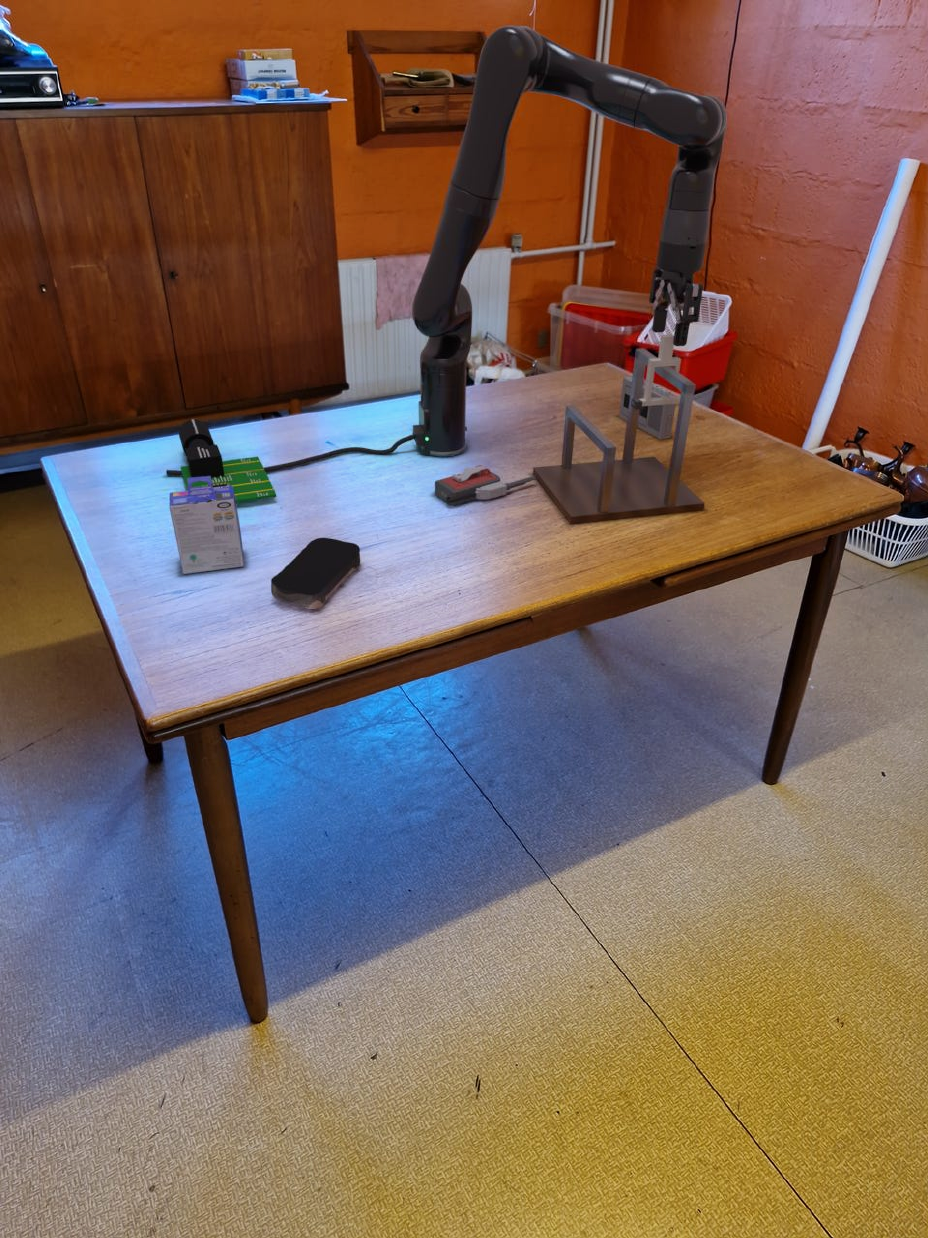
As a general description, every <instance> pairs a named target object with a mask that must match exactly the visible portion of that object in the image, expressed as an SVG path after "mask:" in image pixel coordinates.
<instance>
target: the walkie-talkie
mask: <svg viewBox="0 0 928 1238" xmlns="http://www.w3.org/2000/svg"><path fill="white" fill-rule="evenodd" d="M533 481H537V479H536V477H535V476H534V475H532V476H529V477H525V478H521V479H519V480H515V481H513V482H509V483H508V482H507V483H503V482H502V481H501V477H500V476H499V475H497V474H496V473H494V472H492V471H491V470H490V469H489V468H488V467H486V466H484V465H483V464H479V465H476V466H472V467H469V468H465V469H464V470H463V472H461V473H458V474H456V473H455V474H454V473H453V474H452V475H451V476H448V477H445V478H441V479H437V480H435V481H434V495H435V496H436V497H438V498H440V499H441V500H442V501H444V502H446V504H449V505H452V506H457V505H461V504H464V503H467V502H470V501H473V500H492V499H494V498H497V497H501V496H505V495H507V493H508V492H507V491H510V490H511V489H514V488H518V487H520V486H524V485H526V483H529V482H533Z"/></svg>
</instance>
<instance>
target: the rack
mask: <svg viewBox="0 0 928 1238" xmlns="http://www.w3.org/2000/svg"><path fill="white" fill-rule="evenodd" d="M634 355H635V356H634V364H633V370H632V371H633V372H632V376H633V378H632V386H631V394H630V402H629V410H628V418H627V421H626V427H625V434H624V443H623V451H622V458H621V459H616V453H617V446H616V445H615V444H614V443H613V442H612V441H611V440H610V439H609V438H608V437H607V436H606V435H605V434H604V433H603V432H602V431H601V430H600V429H599V428H598V427H597V426H596V425H595V424H594V423H593V422H592V421H591V420H590V419H588V417H587V416H586V415H585V414H583V412H582V411H580V409H579V408H577V406H576V405H575V404H570V405H569V404H568V405H565V415H564V426H563V437H562V438H563V439H562V450H561V462H560V463H561V464H557V465H546V466H544V465H543V466H535V467H532V476H535V477H536V481H537V482H538V483H539V484H540V486H541V487H542V489H543V490H544V491H545V492H546V494H547V495H548V496H549V498H550V499H551V501H552V502H553V503H554V504H555V506H556V507H557V508H558V510H559V511H560V513H561V514H562V515H563V516H564V517H565V520H567V522H568V523H569V524H570V525H574V524H584V523H585V524H586V523H595V522H605V521H614V520H615V521H616V520H621V519H622V520H623V519H631V518H633V519H634V518H642V517H651V516H652V517H653V516H662V515H670V514H671V515H672V514H680V513H689V512H690V513H691V512H700V511H704V510H705V505H706V503H705V501H703V500H702V499H701V498H700V497H699V496H698V495H697V494H695V492H693V490H691V488H689V487H688V486H687V485H686V483H684V482H683V481H681V474H682V468H683V462H684V457H685V450H686V445H687V437H688V434H689V433H688V432H689V426H690V420H691V414H692V409H693V404H694V403H693V402H694V397H695V390H696V384H695V382H692V380H690V379H689V378H687V377H686V376H684V375H683V374H681V373H680V372H679V373H678V372H677V371H675V370H674V369H672V366H667V367H655V371H654V373H656V374H657V375H658V376H660V377H661V378H663V379H664V380H665V381H667V382H668V383H669V384H670V385H672V386H673V387H675V388H676V389H678V391H680V396H681V397H680V403H679V404H678V410H677V417H676V423H675V429H674V436H673V442H672V448H671V454H670V460H669V466H668V467H666V466H665V465H664V463H662V462H661V461H660V460H659V459H658V458H657V457H656V456H647V457H646V456H645V457H634V455H635V454H634V452H635V445H636V440H637V433H638V431H637V430H638V427H637V424H638V417H639V409H638V410H635V409H634V408H633V407H632V406H631V403H632V399H634V398H638V399H641V394H642V387H643V379H645V378H644V377H645V370H646V367H648V361H649V359H652V358H658V357H657V356H655V355H654V354H653V353H651V352H650V351H648V350H647V349H645V348H636V349H635V354H634ZM576 426H577V427H578V428H579V429H580V431H581V432H583V434H584V435H586V437H587V438H589V440H590V441H591V442H592V443H593V444H594V445H595V446H596V447H597V448H598V449H599V450H600V451H601V452H602V453H603V454H602V455H603V456H602V461H600V460H599V461H592V462H591V461H590V462H580V463H573V453H574V443H575V433H576V431H575V430H576Z"/></svg>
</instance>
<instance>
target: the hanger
mask: <svg viewBox="0 0 928 1238" xmlns="http://www.w3.org/2000/svg"><path fill="white" fill-rule="evenodd" d="M673 339H674V334H661V335H660V342H659V349H658V357H657V358H652V359H649V361H648V366H647V367H646V369H647V370H646V377H645V379H646V383H645V391H644V398H643V399H638V398H634V399H632V403H631V406H632V407H633V408H634V409H635V410H638V409H642V406H653V405H666V404H676V405H679V403H680V397H681V395H672V396H670V397H657V398H651V393H652V386H653V383H654V380H655V379H654V378H655V372H654V371H655V367H667V366H670V367H671V368H672V369H674V370H675V371H677V372H678V373H680V369H681V362H682V358H680V357H679V356H673V354H674V347H675V345H674V344H673Z"/></svg>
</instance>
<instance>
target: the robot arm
mask: <svg viewBox="0 0 928 1238" xmlns="http://www.w3.org/2000/svg"><path fill="white" fill-rule="evenodd" d="M529 92H530V93H538V94H546V95H552V96H557V97H561V98H563V99H567V100H569V101H572V102H575V103H577V104H578V105H581V106H583V107H584V108H586V109H588V110H589V111H592V113H593V112H594V113H595V114H597V115H598V116H601V117H603V118H605V119H608V120H611V121H612V122H616V123H618V124H622V125H624V126H628V127H629V128H633V129H636V130H640V131H644V132H647V133H650V134H653V135H654V136H657V137H658V138H661V139H663V140H664V141H667V142H669V143H672V144H674V145H676V146H678V150H677V156H676V162H675V165H674V168H673V169H672V171H671V174H670V175H669V180H668V187H667V194H666V201H665V208H664V213H663V217H662V221H661V226H660V227H661V228H660V235H659V241H658V250H657V257H656V267H654V269H653V272H652V277H651V285H650V290H649V297H648V302H649V304H652V309H653V310H654V311H653V313H654V314H653V319H652V327H651V331H652V332H653V333H656V334H657V333H664V332H665V331H666V325H667V320H668V312H669V311H668V309H669V307H670V305H671V310H672V311H673V312H674V313H675V319H676V320H675V321H676V323H675V326H674V334H673V336H674V339H673V344H674V347H685V346H686V345H687V344H688V337H689V332H690V331H689V330H690V325H691V324H693V323H698V322H699V321H700V311H701V305H702V299H703V298H702V297H703V296H702V295H703V289H704V285H703V284H702V283H694V274H696V272H699V271H700V272H701V270H702V269H703V267H704V266H703V265H704V259H705V253H706V247H707V241H708V235H709V228H710V212H711V207H712V206H711V205H712V199H713V193H714V185H715V175H716V170H717V166H718V163H719V159H720V156H721V152H722V149H723V145H724V140H725V135H726V129H727V124H728V123H727V122H728V116H727V115H728V114H727V109H726V105H725V104H724V103H723V101H722V100H721V99H720V98H718V97H717V96H715V95H712V94H701V95H700V94H697V93H693V92H689V91H685V90H682V89H679V88H675V87H672V86H669V85H668V84H667V83H666V82H664V81H662V80H660V79H658V78H655V77H652V76H649V75H646V74H644V73H640V72H636V71H634V70H630V69H627V68H624V67H620V66H616V65H613V64H609V63H606V62H603V61H599V60H595V59H592V58H589V57H586V56H584V55H581V54H579V53H576V52H574V51H572V50H569V49H568V48H566V47H563V46H562V45H560V44H558V43H557V42H555V41H553V40H551V39H550V38H548V37H546V36H544V35H542V34H541V33H540V32H538V31H536V30H534V29H533V28H532V27H529V26H526V25H504V26H501V27H499V28H495V30H494V31H493V32H491V33H490V35H489V36H488V37H487V39H486V40H485V42H484V44H483V46H482V49H481V51H480V55H479V60H478V64H477V70H476V74H475V81H474V88H473V92H472V97H471V103H470V108H469V114H468V118H467V121H466V124H465V125H466V126H465V129H464V131H463V135H462V138H461V142H460V144H459V148H458V153H457V155H456V160H455V163H454V166H453V169H452V173H451V175H450V179H449V183H448V186H447V190H446V193H445V197H444V202H443V207H442V211H441V214H440V218H439V221H438V225H437V229H436V232H435V236H434V239H433V244H432V247H431V252H430V255H429V258H428V261H427V263H426V266H425V268H424V272H423V274H422V276H421V278H420V281H419V284H418V287H417V289H416V292H415V294H414V297H413V301H412V306H411V307H412V308H411V314H412V319H413V323H414V325H415V328H416V329H417V330H418V331H419V333H421V334H422V335H423V336H425V337H428V340H427V342H426V344H425V346H424V348H423V349H422V350H421V352H420V356H419V370H420V371H419V372H420V373H419V374H420V375H419V376H420V377H419V378H420V400H419V401H418V403H417V404H418V405H417V406H418V424H413V425H412V434H410V435H407V436H405V437H403V438H400V439H399V440H397V441H395V443H394V444H393V445H392V446H391V447H389V448H386V449H373V448H369V447H362V446H351V447H350V446H349V447H343V448H338V449H335V450H332V451H331V450H330V451H328V452H325V453H321V454H316V455H314V456H313V455H312V456H309V457H305V458H302V459H298V460H295V461H294V460H293V461H290V462H285V463H280V464H274V465H271V466H263V468H264V470H265V472H266V473H270V472H276V471H280V470H286V469H289V468H294V467H298V466H301V465H302V466H303V465H305V464H309V463H313V462H317V461H320V460H324V459H328V458H331V457H335V456H337V455H342V454H348V453H364V454H370V455H378V456H385V455H389V454H392V453H394V452H395V451H396V450H397V449H398V447H400V446H401V445H403V444H405V443H408V442H410V441H414V443H415V444H416V446H417V447H420V450H421V452H422V453H423V455H424V456H434V457H452V456H453V457H454V456H457V455H460V454H462V453H464V452H465V451H466V447H467V444H466V432H467V431H468V430H467V429H468V427H467V426H466V416H467V415H466V411H467V410H466V409H467V408H466V407H467V403H466V402H467V360H468V356H469V354H470V352H471V345H472V331H473V303H472V298H471V295H470V293H469V291H468V289H467V287H466V286H465V285H464V284H463V283H462V281H463V277H464V275H465V273H466V270H467V268H468V266H469V264H470V262H471V261H472V259H473V257H474V256H475V254H476V253H477V251H478V250H479V248H480V247H481V245H482V243H483V241H484V240H485V238H486V236H487V234H488V233H489V231H490V229H491V226H492V224H493V222H494V220H495V216H496V213H497V210H498V207H499V204H500V200H501V197H502V194H503V190H504V186H505V179H506V167H507V165H506V164H507V144H508V138H509V133H510V129H511V127H512V126H511V125H512V123H513V120H514V117H515V115H516V111H517V108H518V105H519V103H520V101H521V98H522V96H523V94H526V93H529ZM417 447H416V448H417ZM166 476H176V477H177V476H178V477H180V476H181V477H183V475H182V472H181V470H177V469H174V470H173V469H166Z"/></svg>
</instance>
